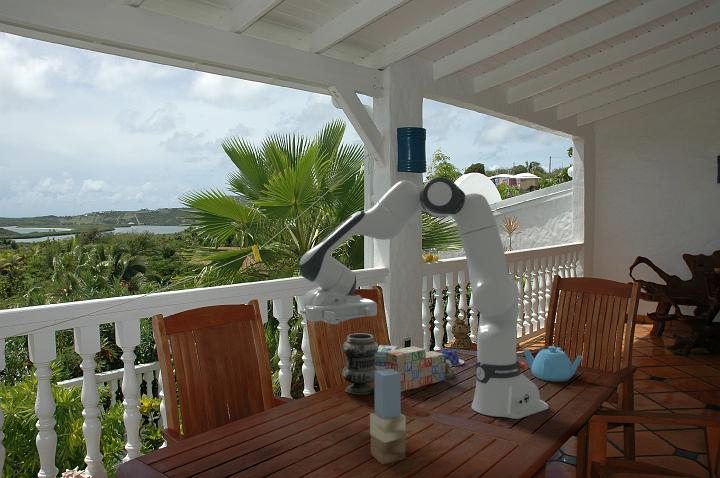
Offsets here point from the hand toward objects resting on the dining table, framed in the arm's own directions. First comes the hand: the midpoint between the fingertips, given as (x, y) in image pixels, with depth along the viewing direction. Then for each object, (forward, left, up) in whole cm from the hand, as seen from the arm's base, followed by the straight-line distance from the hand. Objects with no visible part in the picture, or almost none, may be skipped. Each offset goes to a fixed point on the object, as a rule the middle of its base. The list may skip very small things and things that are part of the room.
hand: (352, 314), depth 146 cm
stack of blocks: (-36, -27, -31) cm, 54 cm away
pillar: (0, +19, -21) cm, 28 cm away
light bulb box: (-30, -38, -31) cm, 57 cm away
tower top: (0, +19, -26) cm, 32 cm away
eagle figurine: (-50, -32, -31) cm, 67 cm away
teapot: (-83, -14, -31) cm, 90 cm away
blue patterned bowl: (-62, -47, -31) cm, 84 cm away
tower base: (0, +19, -31) cm, 36 cm away
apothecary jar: (-16, -30, -31) cm, 46 cm away
